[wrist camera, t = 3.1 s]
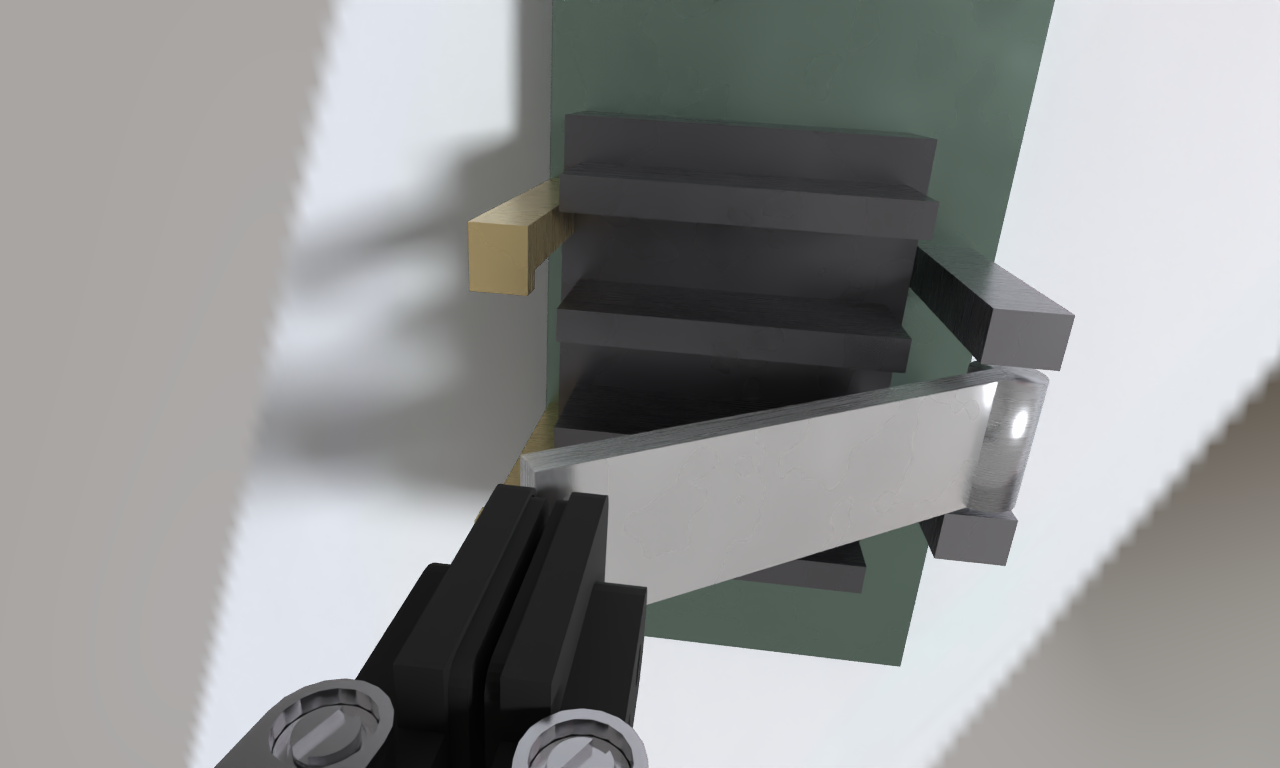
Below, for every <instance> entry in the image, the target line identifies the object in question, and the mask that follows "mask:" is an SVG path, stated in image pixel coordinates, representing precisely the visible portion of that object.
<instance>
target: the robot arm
mask: <svg viewBox="0 0 1280 768" xmlns="http://www.w3.org/2000/svg"><path fill="white" fill-rule="evenodd" d="M608 509H609V498H608V495H601V494H591V493H582V492H572V493H571V495H570V497H569V500H557V501H556V503H555V505H554V508H553V510H552V512H551V515H550V517H549V520H548V499H547V498H539V497H537V493H536V489H535V488H534V487H525V486H515V485H506V484H498V485H497V486H496V488H495V490H494V491H493V493H492V495H491V496H490V498H489V500H488V502H487V503H486V505H485V507H484V508H483V510H482V512H481V514H480V515H479V517H478V519H477V520H476V522H475V524H474V526H473V527H472V529H471V531H470V532H469V534H468V536H467V538H466V539H465V541H464V543H463V544H462V546H461V548H460V550H459V551H458V553H457V555H456V556H455V558H454V560H453V562H452V563H451V565H450V564H441V563H432V564H429V565H428V566H427V568H426V569H425V570H424V571H423V573H422V575H421V576H420V578H419V579H418V581H417V582H416V584H415V586H414V587H413V589H412V590H411V592H410V594H409V595H408V597H407V598H406V600H405V601H404V603H403V605H402V606H401V608H400V609H399V611H398V613H397V614H396V616H395V617H394V619H393V620H392V622H391V624H390V625H389V627H388V628H387V630H386V632H385V633H384V635H383V636H382V638H381V639H380V641H379V643H378V644H377V646H376V647H375V649H374V651H373V652H372V654H371V655H370V657H369V658H368V660H367V662H366V663H365V665H364V666H363V668H362V669H361V671H360V673H359V674H358V676H357V677H356V679H355V680H353V679H336V680H326V681H322V682H319V683H315V684H312V685H309V686H306V687H303V688H301V689H299V690H297V691H296V692H294V693H292V694H290V695H288V696H286V697H284V698H283V699H282V700H281V701H280V702H278V703H277V704H276V705H275V706H274V707H272V708H271V709H270V710H269V711H268V712H267V713H266V714H265V715H264V716H263V717H262V718H261V719H260V720H259V721H258V722H257V723H256V724H255V725H254V726H253V727H252V729H251V730H250V731H249V732H248V733H247V734H246V735H245V736H244V737H243V738H242V739H241V740H240V741H239V742H238V743H237V744H236V745H235V746H234V747H233V748H232V749H231V750H230V752H229V753H228V754H227V755H226V756H225V757H224V758H223V759H222V760H221V761H220V762H219V763H218V764H217V765H216V766H215V767H214V768H649V767H648V758H647V754H646V750H645V746H644V743H643V742H642V740H641V739H640V737H639V736H638V734H637V733H636V732H635V730H634V729H633V722H634V715H635V708H636V701H637V694H638V687H639V680H640V671H641V663H642V653H643V643H644V632H645V619H646V606H647V587H643V586H634V585H626V584H617V583H608V582H605V566H606V547H607V528H608Z"/></svg>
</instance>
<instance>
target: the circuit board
mask: <svg viewBox="0 0 1280 768" xmlns="http://www.w3.org/2000/svg"><path fill="white" fill-rule="evenodd" d="M1054 1H1055V0H553V20H552V82H551V143H550V179H549V180H547V181H545V182H543V183H542V184H540V185H538V186H536V187H534V188H532V189H530V190H528V191H526V192H524V193H522V194H520V195H518V196H516V197H514V198H512V199H510V200H509V201H507V202H505V203H503V204H501V205H499V206H497V207H495V208H493V209H491V210H489V211H487V212H485V213H483V214H481V215H479V216H477V217H476V218H474V219H472V220H470V221H468V249H469V291H476V292H488V293H500V294H511V295H523V296H528V295H529V294H530V293H531V292H532V291H533V290H534V279H535V269H536V268H537V267H538V266H539V265H540V264H541V263H542V262H543V261H544V260H546V259H547V258H548V257H549V266H548V328H547V389H546V410H545V412H544V413H543V415H542V417H541V419H540V421H539V422H538V424H537V426H536V428H535V430H534V431H533V433H532V435H531V437H530V438H529V440H528V442H527V444H526V446H525V447H524V449H523V451H522V453H521V454H520V455H522V454H527V453H533V452H538V451H544V450H549V449H555V448H560V447H566V446H571V445H577V444H582V443H588V442H593V441H599V440H604V439H610V438H615V437H621V436H626V435H632V434H637V433H643V432H648V431H653V430H659V429H664V428H670V427H675V426H681V425H686V424H692V423H697V422H703V421H708V420H714V419H719V418H725V417H730V416H736V415H741V414H747V413H752V412H758V411H763V410H769V409H774V408H780V407H785V406H791V405H796V404H802V403H807V402H813V401H818V400H824V399H829V398H835V397H840V396H846V395H851V394H857V393H862V392H867V391H873V390H878V389H884V388H889V387H895V386H900V385H906V384H911V383H917V382H922V381H928V380H933V379H939V378H944V377H950V376H955V375H961V374H966V373H967V371H968V367H969V364H970V363H971V359H972V355H973V356H974V357H975V359H976V360H977V361H978V362H979V363H980V364H987V365H998V366H1010V367H1021V368H1032V369H1043V370H1054V371H1060V368H1061V365H1062V361H1063V357H1064V354H1065V350H1066V347H1067V343H1068V339H1069V336H1070V332H1071V329H1072V325H1073V321H1074V318H1075V315H1074V314H1072V313H1071V312H1069V311H1068V310H1066V309H1065V308H1063V307H1062V306H1060V305H1059V304H1057V303H1055V302H1054V301H1052V300H1051V299H1049V298H1048V297H1046V296H1045V295H1043V294H1042V293H1040V292H1039V291H1037V290H1035V289H1034V288H1032V287H1031V286H1029V285H1028V284H1026V283H1025V282H1023V281H1022V280H1020V279H1019V278H1017V277H1015V276H1014V275H1012V274H1011V273H1009V272H1008V271H1006V270H1005V269H1003V268H1002V267H1000V266H999V265H997V264H995V263H994V260H995V256H996V251H997V247H998V243H999V238H1000V234H1001V230H1002V226H1003V221H1004V217H1005V213H1006V208H1007V204H1008V200H1009V195H1010V191H1011V187H1012V182H1013V178H1014V174H1015V169H1016V165H1017V161H1018V157H1019V152H1020V148H1021V144H1022V139H1023V135H1024V131H1025V126H1026V122H1027V118H1028V113H1029V109H1030V105H1031V101H1032V96H1033V92H1034V88H1035V83H1036V79H1037V75H1038V70H1039V66H1040V62H1041V57H1042V53H1043V49H1044V45H1045V40H1046V36H1047V32H1048V27H1049V23H1050V19H1051V14H1052V10H1053V6H1054ZM504 484H506V485H515V486H520V456H519V458H518V460H517V462H516V463H515V465H514V467H513V469H512V470H511V472H510V474H509V476H508V478H507V479H506V481H505V483H504ZM483 508H484V507H482V509H481V511H480V512H479V514H478V516H477V517H476V519H475V522H476V520H477V519H478V517H479V515H480V514H481V512H482V510H483ZM1017 522H1018V520H1017V519H1016V517H1015V516H1014V514H1013V513H1012V511H1011V510H1010V511H1007V512H1001V513H990V512H982V511H978V510H974V509H970V508H967V507H966V508H963V509H960V510H956V511H953V512H950V513H946V514H943V515H940V516H937V517H933V518H930V519H927V520H923V521H920V522H917V523H914V524H910V525H907V526H904V527H900V528H897V529H894V530H891V531H887V532H884V533H881V534H877V535H874V536H871V537H868V538H864V539H861V540H858V541H855V542H851V543H848V544H845V545H841V546H838V547H835V548H832V549H828V550H825V551H822V552H818V553H815V554H812V555H809V556H805V557H802V558H799V559H795V560H792V561H789V562H786V563H782V564H779V565H776V566H772V567H769V568H766V569H763V570H759V571H756V572H753V573H750V574H746V575H743V576H740V577H736V578H733V579H730V580H727V581H723V582H720V583H717V584H713V585H710V586H707V587H704V588H700V589H697V590H694V591H690V592H687V593H684V594H681V595H677V596H674V597H671V598H667V599H664V600H661V601H658V602H654V603H651V604H648V605H647V606H646V619H645V632H644V636H648V637H657V638H665V639H673V640H682V641H690V642H698V643H707V644H715V645H724V646H732V647H740V648H749V649H757V650H766V651H774V652H782V653H791V654H799V655H807V656H816V657H824V658H833V659H841V660H849V661H858V662H866V663H875V664H883V665H891V666H900V665H901V661H902V656H903V652H904V648H905V643H906V639H907V635H908V631H909V626H910V622H911V618H912V613H913V609H914V605H915V600H916V596H917V592H918V587H919V583H920V579H921V575H922V570H923V566H924V562H925V557H926V553H927V549H928V545H929V547H930V549H931V552H932V554H933V556H934V558H937V559H947V560H956V561H965V562H974V563H983V564H993V565H1002V566H1006V562H1007V558H1008V555H1009V551H1010V548H1011V544H1012V540H1013V537H1014V533H1015V530H1016V526H1017Z"/></svg>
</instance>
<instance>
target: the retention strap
mask: <svg viewBox="0 0 1280 768" xmlns="http://www.w3.org/2000/svg"><path fill="white" fill-rule="evenodd" d="M1048 384H1049V378H1048V377H1047V376H1046V375H1045V374H1043V373H1041V372H1040V371H1037V370H1035V369H1032V368H1021V367H1010V366H998V365H987V364H980V363H979V362H978V361H974V362H971V363H970V364H969V367H968V371H967V373H966V374H961V375H955V376H950V377H944V378H939V379H933V380H928V381H922V382H917V383H911V384H906V385H900V386H895V387H889V388H884V389H878V390H873V391H867V392H862V393H857V394H851V395H846V396H840V397H835V398H829V399H824V400H818V401H813V402H807V403H802V404H796V405H791V406H785V407H780V408H774V409H769V410H763V411H758V412H752V413H747V414H741V415H736V416H730V417H725V418H719V419H714V420H708V421H703V422H697V423H692V424H686V425H681V426H675V427H670V428H664V429H659V430H653V431H648V432H643V433H637V434H632V435H626V436H621V437H615V438H610V439H604V440H599V441H593V442H588V443H582V444H577V445H571V446H566V447H560V448H555V449H549V450H544V451H538V452H533V453H527V454H522V455H520V486H525V487H534V488H535V489H536V493H537V497H539V498H547V499H548V520H549V517H550V515H551V512H552V510H553V508H554V505H555V503H556V501H557V500H569V497H570V495H571V493H572V492H582V493H591V494H601V495H608V498H609V509H608V528H607V547H606V566H605V582H608V583H617V584H626V585H634V586H643V587H647V605H648V604H651V603H654V602H658V601H661V600H664V599H667V598H671V597H674V596H677V595H681V594H684V593H687V592H690V591H694V590H697V589H700V588H704V587H707V586H710V585H713V584H717V583H720V582H723V581H727V580H730V579H733V578H736V577H740V576H743V575H746V574H750V573H753V572H756V571H759V570H763V569H766V568H769V567H772V566H776V565H779V564H782V563H786V562H789V561H792V560H795V559H799V558H802V557H805V556H809V555H812V554H815V553H818V552H822V551H825V550H828V549H832V548H835V547H838V546H841V545H845V544H848V543H851V542H855V541H858V540H861V539H864V538H868V537H871V536H874V535H877V534H881V533H884V532H887V531H891V530H894V529H897V528H900V527H904V526H907V525H910V524H914V523H917V522H920V521H923V520H927V519H930V518H933V517H937V516H940V515H943V514H946V513H950V512H953V511H956V510H960V509H963V508H966V507H967V508H970V509H974V510H978V511H982V512H990V513H1001V512H1007V511H1010V510H1012V509H1013V508H1014V507H1015V504H1016V500H1017V497H1018V493H1019V489H1020V486H1021V482H1022V479H1023V475H1024V471H1025V468H1026V464H1027V460H1028V457H1029V453H1030V449H1031V446H1032V442H1033V439H1034V435H1035V431H1036V428H1037V424H1038V420H1039V417H1040V413H1041V409H1042V406H1043V402H1044V398H1045V395H1046V391H1047V388H1048Z"/></svg>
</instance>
